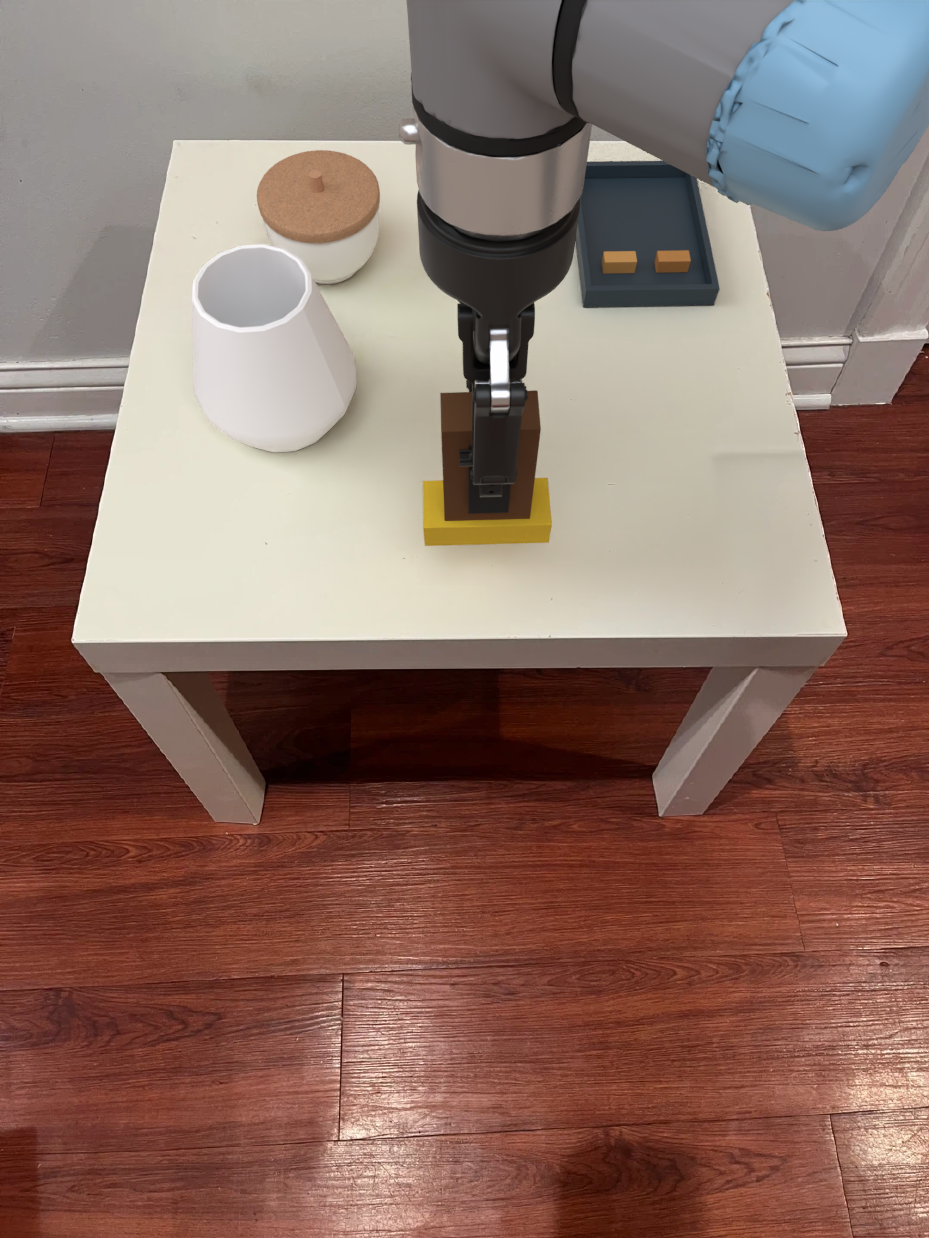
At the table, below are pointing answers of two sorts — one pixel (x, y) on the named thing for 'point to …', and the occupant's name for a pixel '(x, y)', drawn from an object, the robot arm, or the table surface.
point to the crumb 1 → (619, 262)
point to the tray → (643, 235)
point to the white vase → (267, 350)
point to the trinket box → (322, 211)
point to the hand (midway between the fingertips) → (487, 485)
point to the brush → (450, 496)
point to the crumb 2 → (672, 261)
